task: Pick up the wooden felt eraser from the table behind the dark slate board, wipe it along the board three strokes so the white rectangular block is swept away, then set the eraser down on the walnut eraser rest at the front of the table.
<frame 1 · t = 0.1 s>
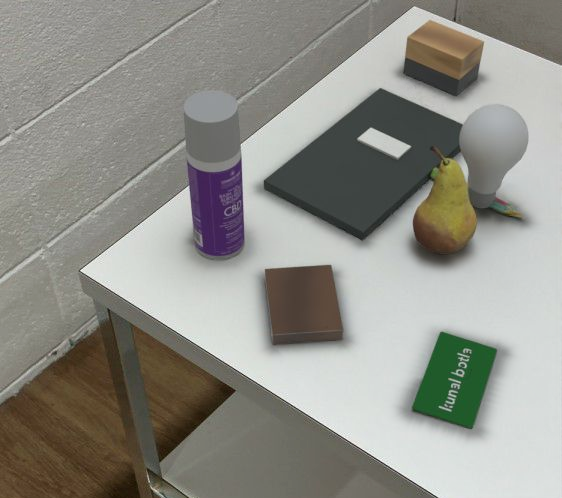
board: (371, 162, 96), on the table
business card: (487, 388, 77), on the table
container: (219, 244, 88), on the table
eraser: (440, 75, 105), on the table
eraser rest: (302, 308, 83), on the table
pencil: (445, 184, 94), on the table, touching board, lightbulb
fruit: (440, 246, 88), on the table
lightbulb: (478, 206, 92), on the table, touching pencil
white rectangular block: (383, 144, 96), point 1 cm above the table, touching board
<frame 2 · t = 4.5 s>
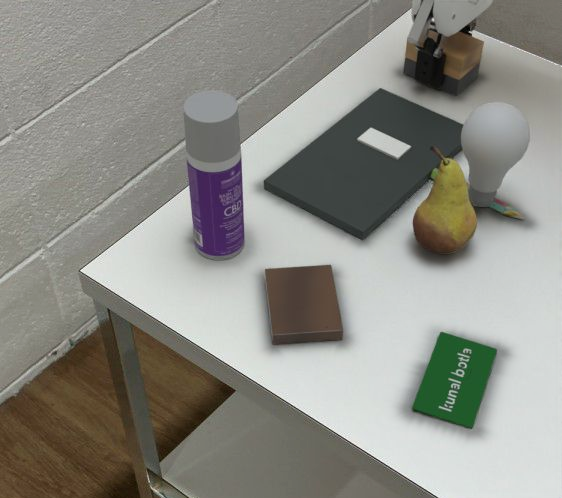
hand: (440, 71, 105), 1 cm above the table, tool pointing down, fingers closed on eraser, 4 cm apart
eraser: (440, 75, 105), on the table, touching gripper
pencil: (444, 185, 94), on the table
lightbulb: (479, 205, 92), on the table
everything else where it was.
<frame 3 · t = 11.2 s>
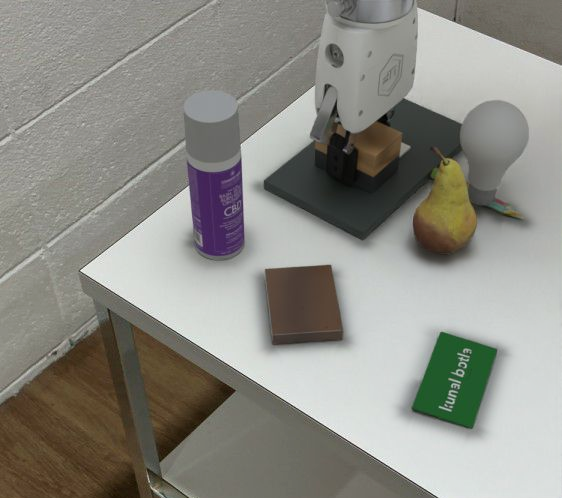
hand: (356, 163, 93), 2 cm above the table, tool pointing down, fingers closed on eraser, 4 cm apart
eraser: (356, 167, 93), point 1 cm above the table, touching gripper
pencil: (444, 184, 94), on the table, touching lightbulb
lightbulb: (479, 204, 92), on the table, touching pencil
everything else where it was.
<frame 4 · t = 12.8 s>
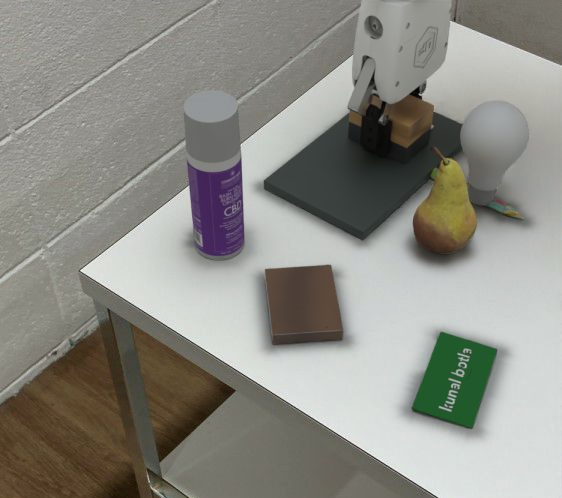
hand: (389, 135, 96), 2 cm above the table, tool pointing down, fingers closed on eraser, 4 cm apart
eraser: (388, 140, 96), point 1 cm above the table, touching gripper
pencil: (444, 185, 94), on the table
lightbulb: (478, 204, 92), on the table
white rectangular block: (406, 124, 98), point 1 cm above the table, touching board
everything else where it was.
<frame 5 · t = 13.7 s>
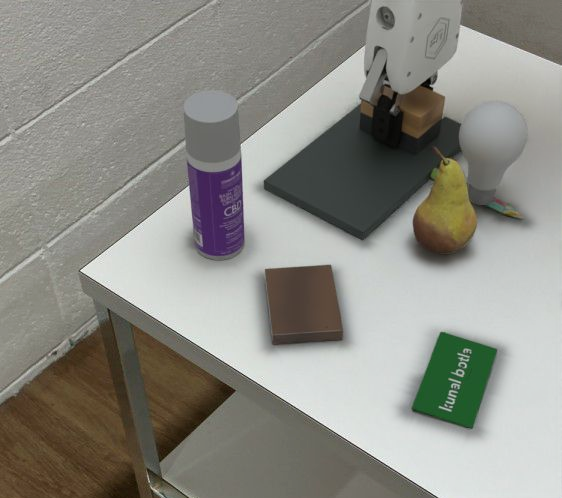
hand: (400, 126, 97), 2 cm above the table, tool pointing down, fingers closed on eraser, 4 cm apart
eraser: (399, 131, 97), point 1 cm above the table, touching gripper
white rectangular block: (418, 113, 99), point 1 cm above the table, touching board
everything else where it was.
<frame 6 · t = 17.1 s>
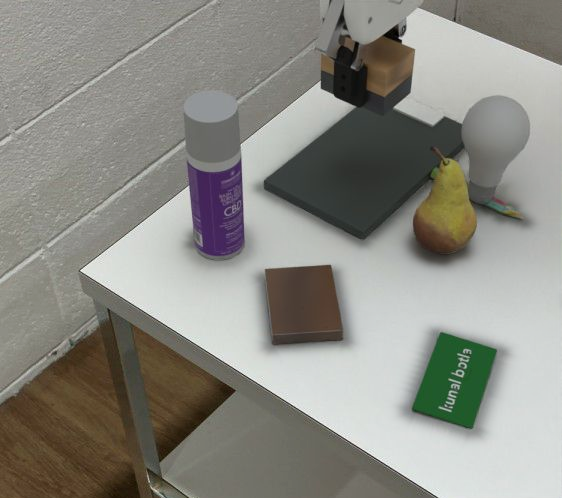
hand: (366, 85, 86), 10 cm above the table, tool pointing down, fingers closed on eraser, 4 cm apart
eraser: (365, 91, 87), point 10 cm above the table, touching gripper
pencil: (444, 184, 94), on the table, touching lightbulb
lightbulb: (478, 203, 92), on the table, touching pencil
everything else where it was.
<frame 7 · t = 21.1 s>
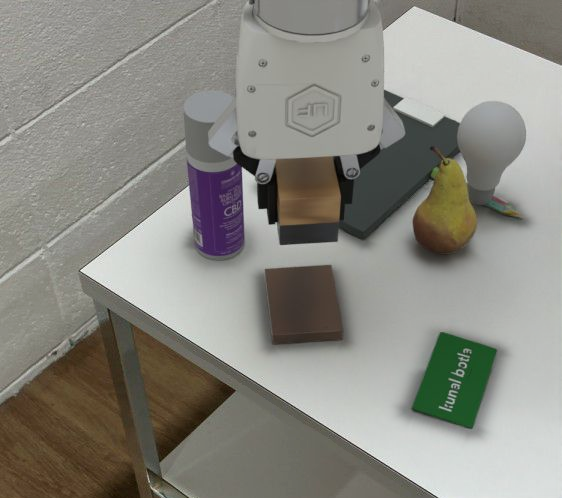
hand: (304, 209, 74), 11 cm above the table, tool pointing down, fingers closed on eraser, 4 cm apart
eraser: (303, 213, 74), point 11 cm above the table, touching gripper
pencil: (444, 184, 94), on the table, touching board
lightbulb: (478, 202, 92), on the table
everything else where it was.
when the fingers open (2 cm above the table, at t = 23.7 s): eraser stays where it is, resting on eraser rest.
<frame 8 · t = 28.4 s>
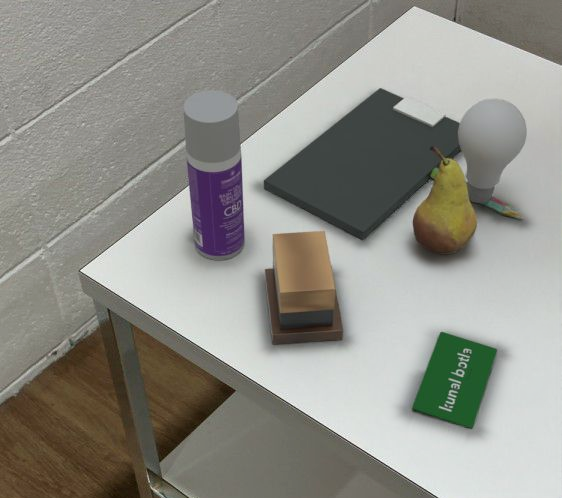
eraser: (302, 298, 82), point 1 cm above the table, touching eraser rest
pencil: (444, 184, 94), on the table
everything else where it was.
at the end: white rectangular block moved 6.7 cm from its start; eraser 0.1 cm off-centre on the eraser rest, point 1.2 cm above the eraser rest's base; eraser tilted 0° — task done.
